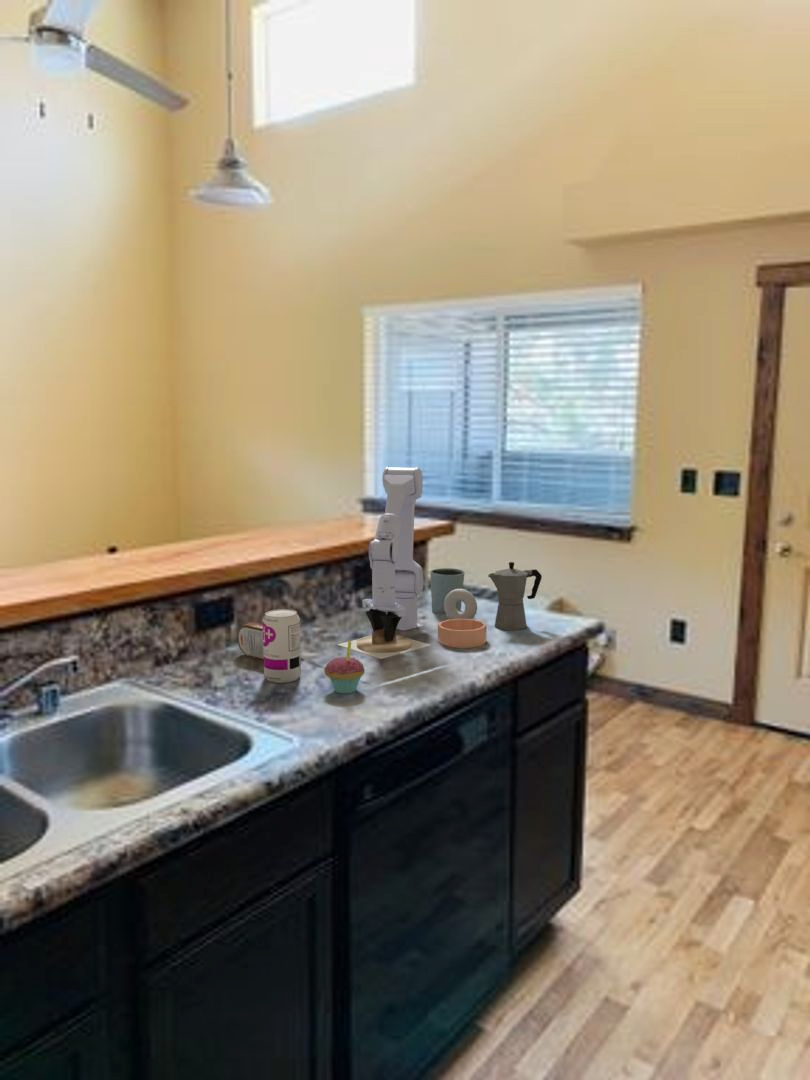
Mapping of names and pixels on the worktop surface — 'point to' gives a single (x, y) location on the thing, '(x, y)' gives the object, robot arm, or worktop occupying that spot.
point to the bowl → (462, 633)
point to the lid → (383, 643)
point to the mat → (414, 646)
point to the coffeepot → (513, 596)
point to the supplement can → (281, 646)
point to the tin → (251, 640)
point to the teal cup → (445, 587)
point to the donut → (466, 599)
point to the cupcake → (345, 672)
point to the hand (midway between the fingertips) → (384, 639)
